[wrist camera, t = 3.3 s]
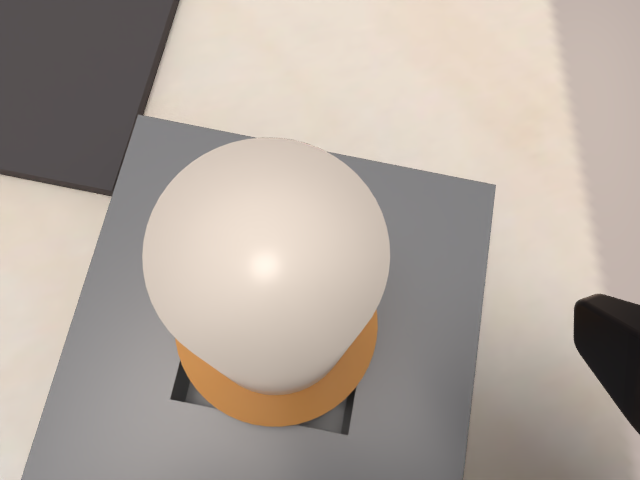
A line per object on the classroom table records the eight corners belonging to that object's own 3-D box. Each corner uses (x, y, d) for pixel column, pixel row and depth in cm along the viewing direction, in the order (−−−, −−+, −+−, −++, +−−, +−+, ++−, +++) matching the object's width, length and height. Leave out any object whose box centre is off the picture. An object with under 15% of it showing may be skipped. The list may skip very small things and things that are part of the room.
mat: (186, -22, 25) (183, -32, 24) (116, 196, 22) (111, 190, 21) (-47, -67, 25) (-55, -78, 24) (-148, 144, 22) (-159, 137, 21)
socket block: (469, 215, 22) (495, 184, 19) (425, 566, 19) (450, 591, 16) (157, 153, 22) (138, 114, 20) (55, 490, 19) (13, 502, 16)
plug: (373, 276, 21) (458, 130, 10) (345, 441, 19) (412, 464, 9) (218, 245, 21) (146, 69, 10) (177, 407, 19) (41, 389, 9)
